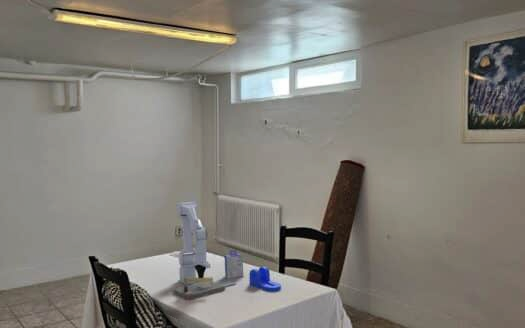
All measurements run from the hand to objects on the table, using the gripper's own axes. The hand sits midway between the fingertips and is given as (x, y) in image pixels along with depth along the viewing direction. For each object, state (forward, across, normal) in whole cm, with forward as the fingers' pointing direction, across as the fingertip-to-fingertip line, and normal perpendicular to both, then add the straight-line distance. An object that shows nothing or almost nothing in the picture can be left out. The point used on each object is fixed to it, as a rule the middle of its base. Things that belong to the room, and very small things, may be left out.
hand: (201, 279), depth 239 cm
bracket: (+8, +14, +31) cm, 35 cm away
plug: (+8, -3, +5) cm, 10 cm away
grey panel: (+8, -3, +1) cm, 8 cm away
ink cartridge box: (+8, -12, +30) cm, 33 cm away
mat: (+8, -4, +17) cm, 19 cm away
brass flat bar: (+5, +1, -2) cm, 6 cm away
